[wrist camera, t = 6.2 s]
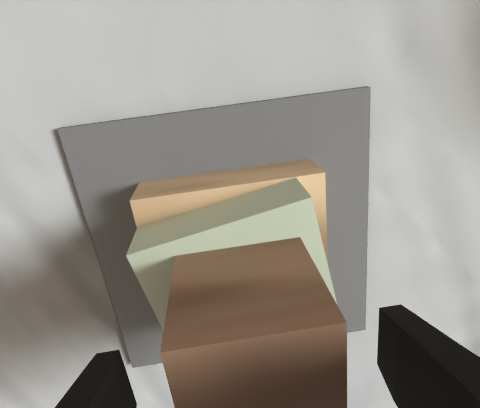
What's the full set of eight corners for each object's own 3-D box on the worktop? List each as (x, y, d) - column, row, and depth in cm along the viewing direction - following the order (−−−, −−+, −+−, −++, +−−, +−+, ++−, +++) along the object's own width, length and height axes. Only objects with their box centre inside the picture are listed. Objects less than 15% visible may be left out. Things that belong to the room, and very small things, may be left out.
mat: (363, 325, 18) (365, 329, 18) (133, 363, 18) (132, 367, 18) (367, 86, 14) (370, 87, 14) (59, 127, 13) (56, 129, 13)
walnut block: (306, 334, 13) (346, 445, 9) (196, 352, 13) (192, 472, 9) (300, 236, 11) (346, 322, 8) (175, 255, 11) (160, 352, 7)
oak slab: (316, 297, 17) (329, 325, 15) (172, 320, 17) (168, 351, 15) (309, 158, 15) (325, 172, 13) (139, 182, 14) (129, 200, 12)
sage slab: (328, 306, 15) (346, 340, 13) (193, 347, 15) (191, 387, 13) (295, 177, 13) (311, 197, 11) (137, 227, 13) (125, 255, 11)
